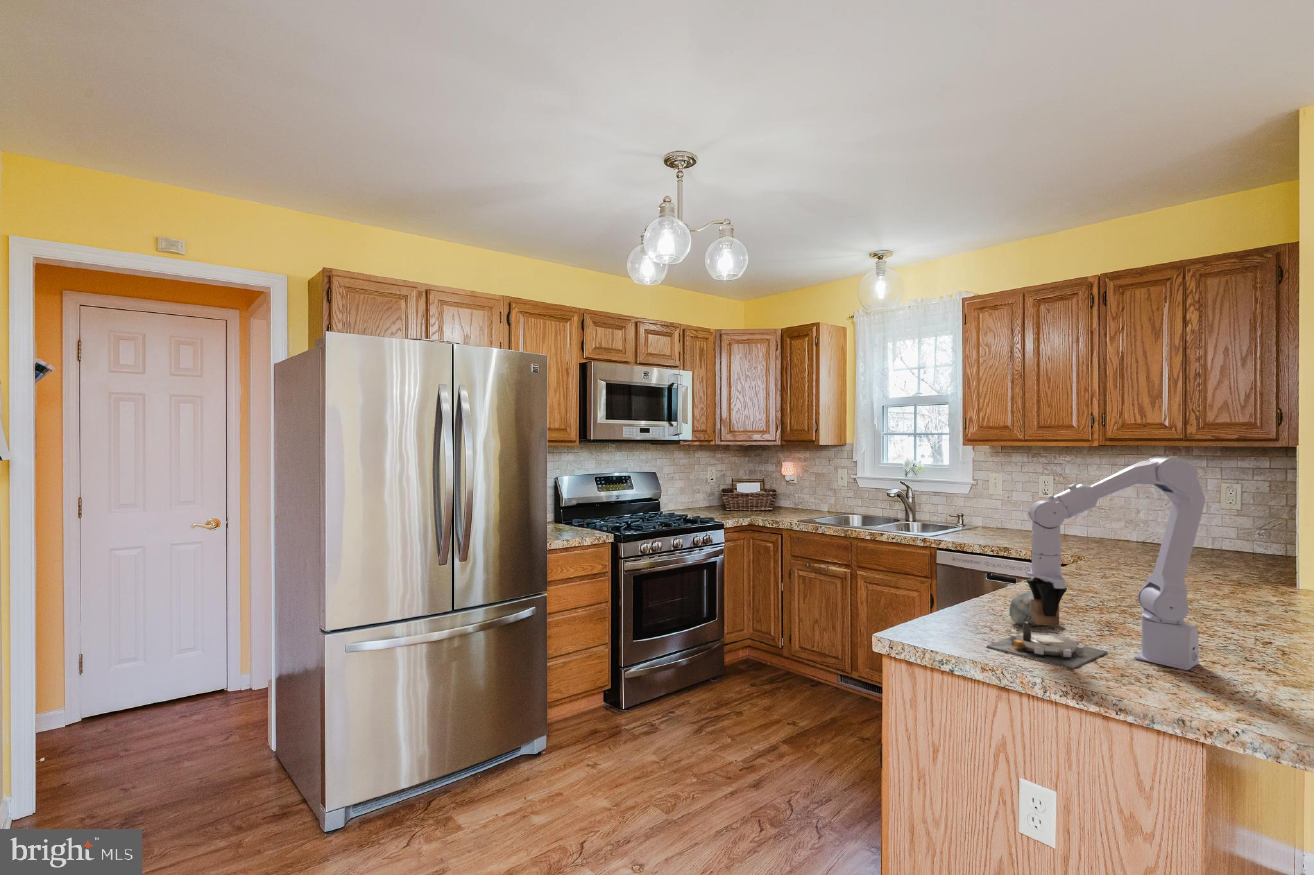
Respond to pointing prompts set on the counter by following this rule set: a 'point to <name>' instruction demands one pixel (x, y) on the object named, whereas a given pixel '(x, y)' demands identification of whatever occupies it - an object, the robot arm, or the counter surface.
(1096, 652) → the plate
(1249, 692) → the counter surface
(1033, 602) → the link block
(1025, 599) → the grey oval stone
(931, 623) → the counter surface
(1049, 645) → the sprocket
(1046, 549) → the robot arm
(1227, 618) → the counter surface
